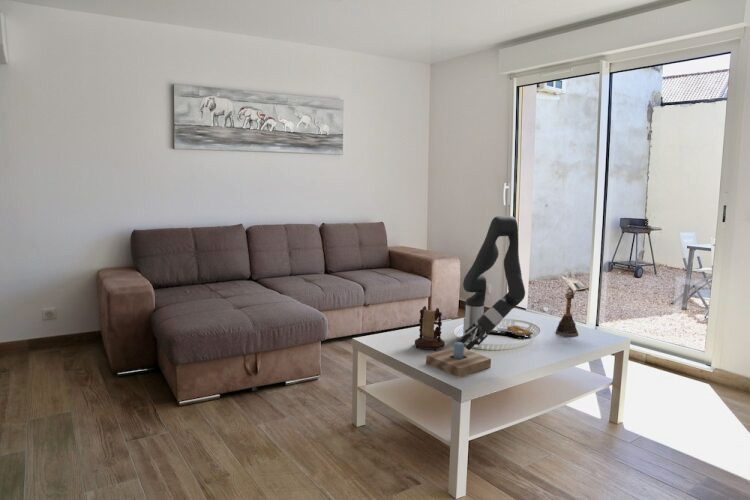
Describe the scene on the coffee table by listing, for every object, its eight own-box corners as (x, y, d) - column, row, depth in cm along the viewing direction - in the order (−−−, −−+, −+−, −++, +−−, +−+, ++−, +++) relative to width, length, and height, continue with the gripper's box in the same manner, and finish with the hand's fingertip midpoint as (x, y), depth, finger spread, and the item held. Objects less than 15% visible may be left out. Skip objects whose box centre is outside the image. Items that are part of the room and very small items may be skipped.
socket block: (425, 363, 232) (426, 355, 231) (456, 354, 244) (457, 346, 244) (459, 377, 216) (459, 368, 216) (490, 367, 229) (490, 358, 228)
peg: (451, 365, 231) (451, 343, 229) (457, 363, 233) (458, 341, 232) (458, 367, 227) (459, 345, 226) (465, 365, 230) (466, 344, 229)
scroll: (409, 348, 252) (410, 308, 249) (421, 340, 265) (422, 302, 262) (438, 353, 245) (439, 312, 243) (449, 345, 258) (450, 305, 256)
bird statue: (592, 336, 276) (597, 271, 271) (576, 340, 269) (580, 273, 265) (567, 328, 290) (571, 267, 285) (551, 331, 284) (555, 268, 279)
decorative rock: (499, 333, 282) (519, 342, 269) (499, 326, 281) (519, 334, 268) (515, 329, 287) (535, 338, 274) (515, 322, 286) (536, 330, 273)
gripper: (479, 309, 236) (453, 335, 236) (490, 318, 222) (463, 345, 222) (489, 320, 237) (464, 345, 237) (501, 330, 223) (474, 356, 223)
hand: (464, 345), depth 230 cm, fingers open, 8 cm apart
